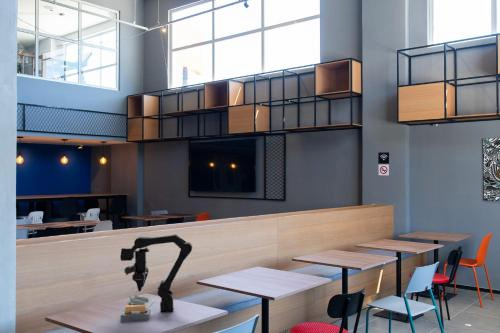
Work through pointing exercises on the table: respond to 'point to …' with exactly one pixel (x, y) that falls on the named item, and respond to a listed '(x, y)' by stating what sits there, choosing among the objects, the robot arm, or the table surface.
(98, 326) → the table surface
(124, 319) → the slotted plate
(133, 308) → the clip
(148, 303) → the metal bracket
